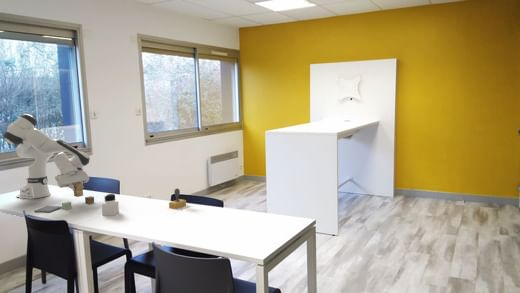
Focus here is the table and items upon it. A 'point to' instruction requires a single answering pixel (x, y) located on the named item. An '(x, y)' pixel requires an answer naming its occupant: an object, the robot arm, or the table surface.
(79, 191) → the oak block
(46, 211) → the grey mat
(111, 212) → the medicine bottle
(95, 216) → the table surface
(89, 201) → the walnut cube
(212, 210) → the table surface
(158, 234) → the table surface
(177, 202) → the rubber stamp
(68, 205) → the sage cube
